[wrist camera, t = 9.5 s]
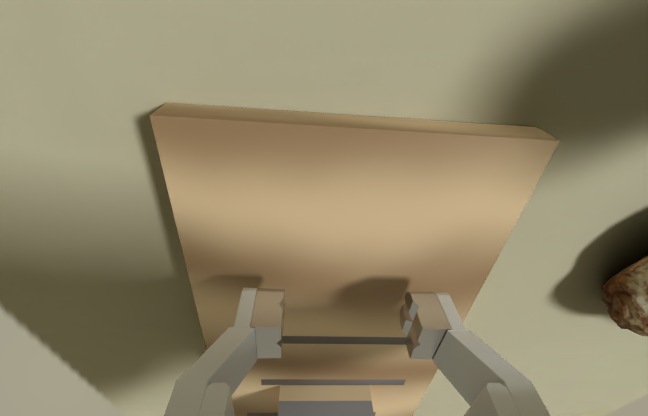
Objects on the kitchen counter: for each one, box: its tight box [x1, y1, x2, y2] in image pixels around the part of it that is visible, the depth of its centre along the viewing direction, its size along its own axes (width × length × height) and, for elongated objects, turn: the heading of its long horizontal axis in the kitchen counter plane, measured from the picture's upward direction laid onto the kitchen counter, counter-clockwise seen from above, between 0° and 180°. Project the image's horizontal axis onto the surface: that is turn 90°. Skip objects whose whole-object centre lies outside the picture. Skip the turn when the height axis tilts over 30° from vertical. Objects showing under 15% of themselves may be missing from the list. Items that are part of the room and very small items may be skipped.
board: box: [149, 103, 560, 416], centre depth 16 cm, size 25×12×1 cm, turn 176°
